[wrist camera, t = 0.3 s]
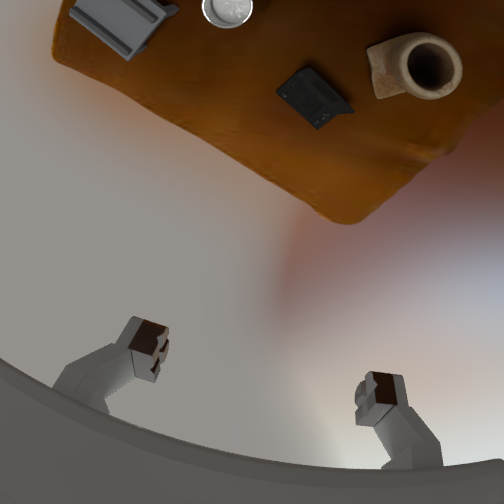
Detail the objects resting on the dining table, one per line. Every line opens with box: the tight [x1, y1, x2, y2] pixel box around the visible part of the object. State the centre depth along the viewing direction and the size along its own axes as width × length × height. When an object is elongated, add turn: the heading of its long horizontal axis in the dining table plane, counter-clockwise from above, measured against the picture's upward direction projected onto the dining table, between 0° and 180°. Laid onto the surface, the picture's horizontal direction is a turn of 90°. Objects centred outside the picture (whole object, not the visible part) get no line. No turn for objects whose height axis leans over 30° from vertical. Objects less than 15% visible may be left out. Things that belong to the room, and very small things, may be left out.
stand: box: [69, 0, 179, 61], centre depth 39 cm, size 12×17×8 cm
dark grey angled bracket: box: [276, 67, 355, 130], centre depth 50 cm, size 12×7×10 cm
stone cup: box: [366, 32, 463, 99], centre depth 37 cm, size 15×12×15 cm
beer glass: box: [202, 0, 269, 28], centre depth 35 cm, size 7×7×15 cm
